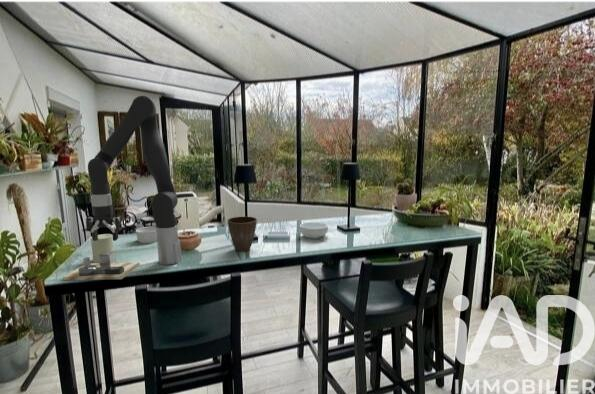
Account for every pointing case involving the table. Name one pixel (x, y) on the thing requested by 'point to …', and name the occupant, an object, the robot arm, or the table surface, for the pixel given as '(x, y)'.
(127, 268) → the board
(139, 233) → the ramekin
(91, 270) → the ratchet
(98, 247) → the cream cylinder
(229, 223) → the plant pot
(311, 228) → the cereal bowl
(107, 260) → the grey pocketed block
